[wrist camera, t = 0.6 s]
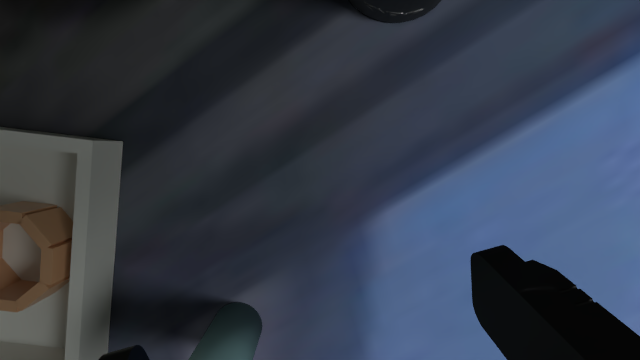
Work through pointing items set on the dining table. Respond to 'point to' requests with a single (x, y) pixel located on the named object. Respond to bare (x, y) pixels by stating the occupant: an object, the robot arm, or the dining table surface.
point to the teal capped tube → (230, 334)
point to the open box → (57, 244)
